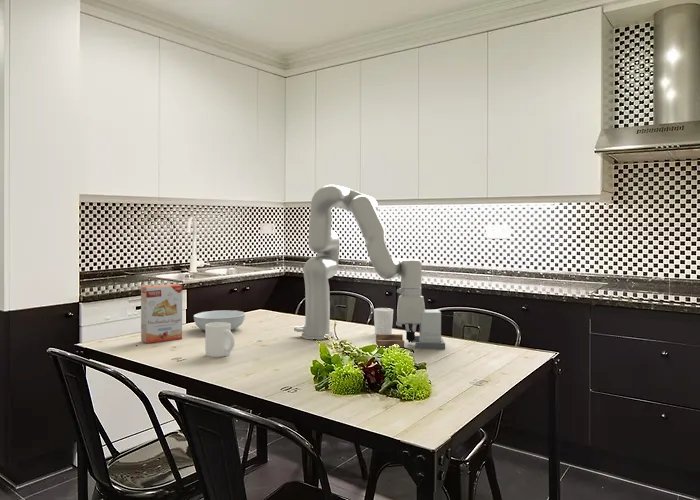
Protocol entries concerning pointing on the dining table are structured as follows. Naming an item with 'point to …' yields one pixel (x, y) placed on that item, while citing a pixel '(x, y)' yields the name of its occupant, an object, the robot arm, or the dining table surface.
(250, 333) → the dining table surface
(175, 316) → the cracker box
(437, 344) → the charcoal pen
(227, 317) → the serving bowl
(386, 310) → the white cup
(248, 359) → the dining table surface
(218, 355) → the mug
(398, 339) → the walnut rails
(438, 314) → the supplement box
